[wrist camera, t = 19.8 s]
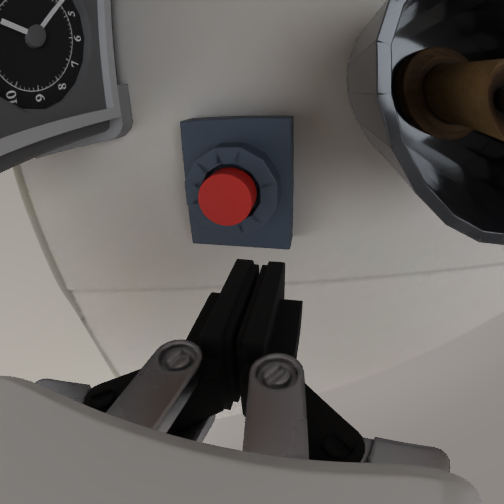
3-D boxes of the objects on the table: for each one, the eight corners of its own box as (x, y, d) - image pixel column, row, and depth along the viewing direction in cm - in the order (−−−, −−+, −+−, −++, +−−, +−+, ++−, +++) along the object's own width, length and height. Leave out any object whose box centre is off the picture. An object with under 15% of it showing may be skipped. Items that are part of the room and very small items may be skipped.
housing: (292, 237, 26) (287, 261, 23) (201, 232, 28) (184, 254, 24) (293, 115, 22) (288, 120, 18) (190, 118, 23) (169, 124, 20)
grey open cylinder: (490, 184, 20) (574, 254, 10) (344, 164, 23) (365, 232, 12) (498, 34, 14) (594, 23, 3) (343, -2, 16) (363, -75, 6)
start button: (257, 217, 22) (252, 227, 21) (208, 215, 23) (200, 225, 21) (256, 167, 20) (250, 173, 19) (204, 167, 21) (195, 173, 20)
